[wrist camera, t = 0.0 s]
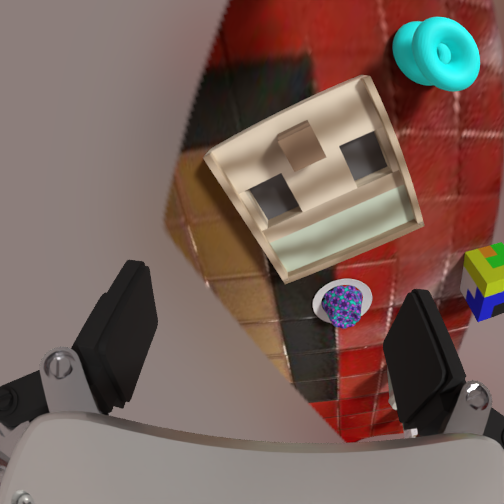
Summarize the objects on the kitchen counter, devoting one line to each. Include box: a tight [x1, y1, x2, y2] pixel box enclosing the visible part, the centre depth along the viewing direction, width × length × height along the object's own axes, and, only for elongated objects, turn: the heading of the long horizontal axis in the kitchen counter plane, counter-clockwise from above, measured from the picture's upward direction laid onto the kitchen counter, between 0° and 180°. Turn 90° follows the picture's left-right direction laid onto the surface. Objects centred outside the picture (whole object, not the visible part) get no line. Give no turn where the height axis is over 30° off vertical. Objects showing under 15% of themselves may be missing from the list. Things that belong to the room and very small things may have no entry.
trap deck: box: [203, 75, 424, 284], centre depth 44 cm, size 24×25×4 cm
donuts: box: [393, 17, 480, 91], centre depth 29 cm, size 10×10×10 cm
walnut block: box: [278, 120, 326, 172], centre depth 38 cm, size 4×4×4 cm
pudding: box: [313, 279, 372, 328], centre depth 58 cm, size 12×12×5 cm
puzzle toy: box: [460, 242, 504, 322], centre depth 48 cm, size 10×10×10 cm
